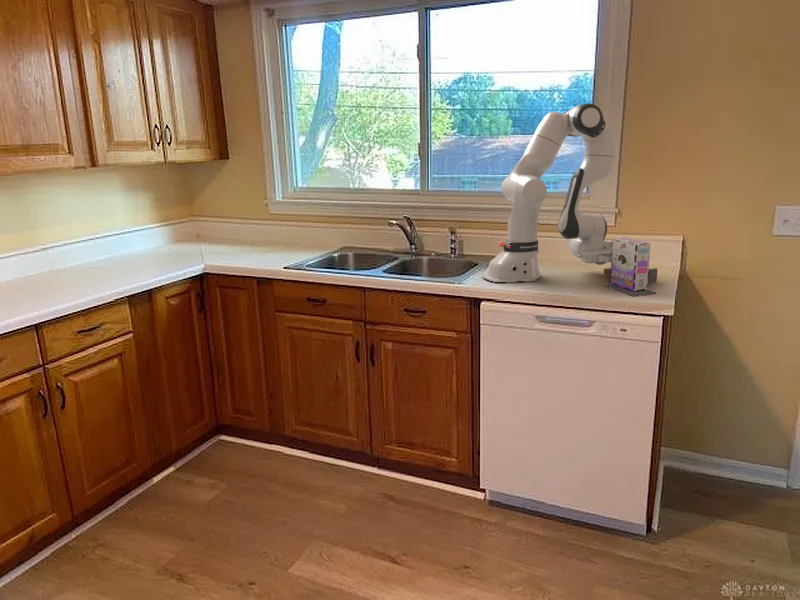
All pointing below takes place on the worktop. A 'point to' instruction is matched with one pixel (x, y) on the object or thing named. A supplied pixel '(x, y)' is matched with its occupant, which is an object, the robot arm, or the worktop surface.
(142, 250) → the worktop surface
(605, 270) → the holder
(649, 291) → the mat
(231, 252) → the worktop surface
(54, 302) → the worktop surface
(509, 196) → the robot arm
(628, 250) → the candy box
